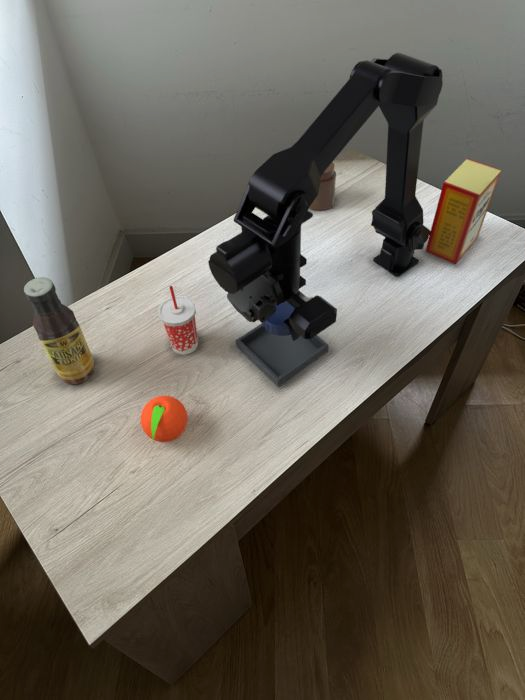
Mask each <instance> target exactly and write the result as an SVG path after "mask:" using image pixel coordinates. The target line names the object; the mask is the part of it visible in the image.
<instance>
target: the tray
mask: <svg viewBox="0 0 525 700" xmlns="http://www.w3.org/2000/svg"><path fill="white" fill-rule="evenodd" d="M235 346H236V347H235V348H237V350H239V351H240V352H241V353H242V354H243V355H244V356H245V357H246V358H247V359H248V360H249V361H250V362H251V363H252V364H253V365H254V366H255V367H256V368H257V369H258V370H259V371H260V372H262V373H263V374H264V375H265V377H267V378H268V379H269V381H271V382H272V383H273V384H274V385H275V386H276V387H277V388H279V387H281V386H282V385H283V384H285V383H287V382H289V380H291V379H292V378H293V377H295V376H296V375H298V374H299V373H300V372H302V371H303V370H305V369H306V368H307V367H309V366H310V365H312V364H313V363H315V362H316V361H317V360H319V359H320V358H322V357H323V356H325V355H326V354H327V353H328V352H329V344H328V343H327V342H326V341H325V340H323V339H322V338H321V337H320V336H319V335H318V334H317V335H316V336H314V337H313V338H311V339H304V338H303V337H302V336H300V337H299V338H298V339H296V340H295V341H293V340H292V337H291V335H287V336H278V335H274V334H272V333H270V332H268V331H267V330H266V329H265V328H264V326H263V325H262V323H260V324H258V325H257V326H255V327H254V328H252V329H251V330H248V331H247V332H246V333H244V334H243V335H241V336H240V337H238V338H237V339H235Z"/></svg>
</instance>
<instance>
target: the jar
mask: <svg viewBox="0 0 525 700" xmlns="http://www.w3.org/2000/svg"><path fill="white" fill-rule="evenodd" d="M336 182H337V173H336V170H335V163H334V161H333V162H332V163H331V164H330V165H329V166H328V168H327V169H326V170H325V172H324V173H323V175H322V176H321V180H320V186H319V193H318V195H317V197H316V198H315V200H314V201H313V203H312V204H311V206H310V207H309V210H312V211H316V212H322V211H323V212H325V211H327V210H330V209H331V208H332V207H333V206H334V204H335V194H336Z"/></svg>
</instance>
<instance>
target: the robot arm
mask: <svg viewBox="0 0 525 700" xmlns="http://www.w3.org/2000/svg"><path fill="white" fill-rule="evenodd" d="M443 84H444V83H443V71H442V69H441V68H440V67H439V66H438V65H436V64H433V63H431V62H428V61H424V60H421V59H419V58H416V57H413V56H410V55H407V54H404V53H402V52H395V53H393V54H392V55H390V57H389V58H378V57H377V58H376V57H373V58H372V59H371V60H367V59H366V60H360V61H358V62H357V63H356V64H355V65H354V66H353V68H352V69H351V72H350V74H349V79H348V80H347V81H346V82H345V84H343V86H341V88H340V90H338V92H337V93H336V94H335V96H333V98H332V99H331V100H330V102H329V103H327V105H326V106H325V107H324V108H323V110H322V111H321V112H320V113H319V114H318V116H317V117H316V118H315V119H314V120H313V122H312V123H311V124H310V125H309V126H308V128H307V129H306V130H305V131H304V132H303V134H302V135H301V136H300V137H299V138H298V140H297V141H296V142H294V144H292V146H290V147H288V148H286V149H283V150H281V151H278V152H275V153H273V154H271V156H270V157H268V158H267V159H266V160H265V162H263V163H262V164H261V165H260V166H259V167H258V168H257V169H255V171H254V172H253V173H252V175H251V176H250V178H249V180H248V183H247V186H246V189H245V191H244V193H243V196H242V198H241V201H240V203H239V205H238V208H237V210H236V212H235V215H234V217H233V222H234V223H236V224H237V225H238V226H240V227H241V232H240V233H237V234H236V235H235V236H233V237H231V238H230V239H228V240H226V241H223V242H221V243H220V244H218V245H216V247H215V252H213V253H212V254H211V255H210V256H209V259H208V262H207V263H208V267H209V270H210V273H211V275H212V276H213V279H214V280H215V282H216V283H217V284H218V285H219V286H220V288H221V289H223V290H224V291H225V292H226V293H227V294H226V298H227V300H228V301H229V304H231V305H232V307H233V308H234V310H235V311H236V312H237V313H238V314H239V315H241V316H242V317H243V318H244V319H245V320H246V321H247V322H249V323H256V322H257V321H259V322H260V323H261V324H262V323H263V322H266V321H267V320H268V319H269V318H270V317H271V316H272V315H273V314H274V313H275V311H276V307H275V305H277V306H278V305H279V304H281V303H284V302H285V301H287V302H288V303H289V304H290V305H292V306H293V307H294V308H295V309H294V311H293V312H292V314H291V315H290V317H289V318H288V319H286V320H285V321H283V322H284V323H285V324H286V325H287V326H288V327H290V329H291V337H292V340H293V341H295V340H296V339H298V338H299V337H300V336H302V337H303V338H304V339H311V338H313V337H314V336H316V335H317V336H318V335H319V334H320V333H322V332H323V331H325V330H326V329H328V328H329V327H331V326H332V325H333V324H335V323H336V322H337V315H338V308H336V307H335V306H334V305H332V304H331V303H330V302H329V301H327V299H325V298H323V297H322V296H320V295H317V294H316V295H314V296H313V297H312V296H311V297H308V296H306V295H305V294H304V293H303V292H302V291H300V290H301V288H303V287H305V286H306V285H307V279H306V278H305V277H303V276H302V275H301V268H303V267H304V266H306V265H307V262H308V261H307V260H308V259H307V257H305V256H304V255H302V254H301V252H302V250H301V248H302V225H303V224H304V223H306V222H308V221H309V220H311V219H312V218H313V217H314V214H313V212H311V211H310V208H309V207H310V206H311V204H312V203H313V201H314V200H315V198H316V197H317V195H318V193H319V186H320V180H321V176H322V175H323V173H324V172H325V170H326V169H327V168H328V166H329V165H330V164H331V163H332V162H333V163H334V161H335V159H336V158H338V156H339V155H340V153H341V152H342V151H343V150H344V148H345V147H346V146H347V145H348V144H349V143H350V141H351V140H352V139H353V138H354V136H355V135H356V134H357V133H358V132H359V130H360V129H361V128H362V127H363V126H364V125H365V123H366V122H367V121H368V120H369V119H370V117H371V116H372V115H373V114H374V113H375V111H376V110H377V109H378V108H379V109H380V111H381V113H382V116H383V117H384V119H385V121H386V122H387V142H386V143H387V145H386V162H385V163H386V164H385V165H386V166H385V185H384V198H383V200H381V201H380V203H378V205H376V207H375V208H374V209H372V211H371V215H372V218H371V223H370V226H371V227H373V229H374V230H375V233H376V234H378V235H380V236H382V237H384V238H383V240H382V244H381V248H380V253H379V254H377V255H375V257H373V258H372V261H373V263H375V264H376V265H378V266H379V267H380V268H382V269H384V271H386V272H388V273H390V274H391V275H392V276H393V277H396V278H399V277H401V276H402V275H404V274H405V273H406V272H408V271H409V270H411V269H412V268H414V267H415V266H417V265H418V264H419V262H420V260H419V259H418V258H417V257H415V256H414V255H415V251H422V250H423V249H424V247H425V243H427V242H428V239H429V235H430V233H431V229H429V228H428V227H427V226H425V225H424V209H423V207H422V206H421V204H420V202H419V200H418V198H417V196H416V193H417V186H418V185H417V183H418V176H419V175H418V173H419V165H420V157H421V148H422V137H423V127H424V121H425V119H426V118H427V117H428V116H429V114H430V113H432V111H433V110H434V109H435V108H436V106H437V105H438V101H439V97H440V95H441V93H442V88H443ZM255 209H257V210H259V211H261V212H262V213H263V214H265V215H266V216H265V217H263V218H262V217H260V216H259V215H257V214H255V213H254V210H255ZM274 304H275V305H274Z"/></svg>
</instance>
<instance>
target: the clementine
mask: <svg viewBox="0 0 525 700" xmlns="http://www.w3.org/2000/svg"><path fill="white" fill-rule="evenodd" d="M140 425H141V428H142V431H143V432H144V433H145V435H146V436H147V437H148V438H150V439H151V440H152V442H153V443H154V442H159V443H169V442H173V441H175V440H177V439H178V438H179V437H180V436H182V434H183V433H184V432H185V430H186V428H187V425H188V411H187V409H186V407H185V405H184V404H183V403H182V402H181V400H179V399H177V398H175V397H174V396H170V395H159V396H156V397H154V398H151V399H150V400H149V401H148V402H146V404H145V405H144V407H143V408H142V410H141V414H140Z"/></svg>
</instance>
